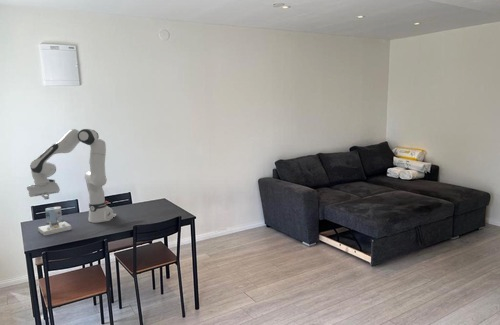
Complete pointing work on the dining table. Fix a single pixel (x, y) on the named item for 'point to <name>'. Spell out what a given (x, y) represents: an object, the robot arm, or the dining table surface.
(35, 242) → the dining table surface
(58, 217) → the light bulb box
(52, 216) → the breaker lever
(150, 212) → the dining table surface
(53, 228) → the switch panel
